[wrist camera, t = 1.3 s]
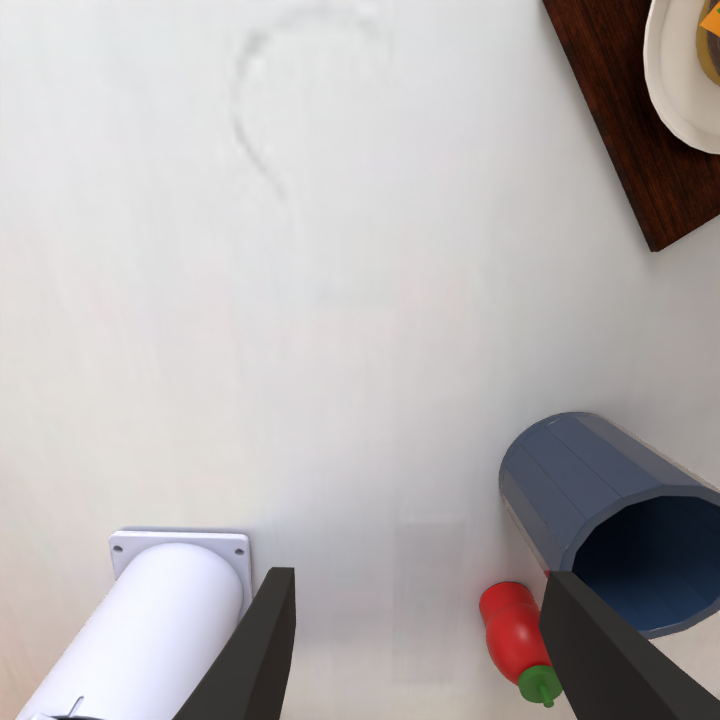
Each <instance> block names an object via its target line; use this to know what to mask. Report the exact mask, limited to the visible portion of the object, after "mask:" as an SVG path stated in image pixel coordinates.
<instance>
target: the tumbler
mask: <svg viewBox="0 0 720 720" xmlns="http://www.w3.org/2000/svg"><path fill="white" fill-rule="evenodd" d="M499 488H500V493H501V496H502V499H503V501H504V503H505V505H506V506H507V510H508V512H509V514H510V515H511V517H512V519H513V521H514V522H515V524H516V526H517V527H518V529H519V531H520V532H521V534H522V536H523V538H524V539H525V541H526V543H527V544H528V546H529V548H530V549H531V551H532V553H533V555H534V556H535V558H536V560H537V561H538V563H539V565H540V566H541V568H542V570H543V572H544V573H545V575H546V577H547V578H548V576H549V572H550V571H571V572H572V573H574V574H575V575H576V576H577V577H578V578H579V579H580V580H582V581H583V582H584V583H585V584H586V585H587V586H588V587H589V588H590V589H592V590H593V591H594V592H595V593H596V594H597V595H598V596H599V597H600V598H601V599H602V600H604V601H605V602H606V603H607V604H608V605H609V606H610V607H611V608H612V609H613V610H615V611H616V612H617V613H618V614H619V615H620V616H621V617H622V618H623V619H624V620H626V621H627V622H628V623H629V624H630V625H631V626H632V627H633V628H634V629H636V630H637V631H638V632H639V633H640V634H641V635H642V636H643V637H645V638H646V639H647V640H649V639H654V638H658V637H662V636H666V635H670V634H673V633H677V632H681V631H684V630H685V629H686V630H687V629H689V628H690V627H692V626H694V625H696V624H697V623H699V622H701V621H703V620H704V619H706V618H708V617H709V616H711V615H713V614H715V613H716V612H718V611H719V610H720V490H719V489H717V488H716V487H714V486H713V485H711V484H710V483H708V482H707V481H705V480H704V479H702V478H700V477H699V476H697V475H696V474H694V473H693V472H691V471H690V470H688V469H687V468H685V467H684V466H682V465H680V464H679V463H677V462H676V461H674V460H673V459H671V458H670V457H668V456H667V455H665V454H663V453H662V452H660V451H659V450H657V449H656V448H654V447H653V446H651V445H650V444H648V443H647V442H645V441H643V440H642V439H640V438H639V437H637V436H636V435H634V434H633V433H631V432H630V431H628V430H627V429H625V428H623V427H621V426H619V425H617V424H615V423H614V422H612V421H610V420H608V419H607V418H604V417H602V416H599V415H596V414H591V413H584V412H569V413H563V414H558V415H554V416H551V417H548V418H546V419H543V420H541V421H539V422H537V423H536V424H534V425H532V426H531V427H529V428H528V429H527V430H525V431H524V432H523V433H522V434H521V435H520V436H519V437H518V438H517V439H516V440H515V441H514V442H513V443H512V445H511V446H510V447H509V449H508V451H507V452H506V454H505V456H504V458H503V461H502V464H501V467H500V472H499Z"/></svg>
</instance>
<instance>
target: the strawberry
mask: <svg viewBox="0 0 720 720" xmlns="http://www.w3.org/2000/svg"><path fill="white" fill-rule="evenodd" d="M479 607H480V612H481V615H482V618H483V620H484V623H485V626H486V642H487V647H488V651H489V654H490V656H491V658H492V660H493V662H494V664H495V665H496V667H497V668H498V670H499V671H500V672H501V673H502V674H503V675H504V676H505V677H506V678H507V679H508V680H509V681H511V682H512V683H514V684H515V685H517V686H519V689H520V692H521V694H522V696H523V697H524V698H525V699H526V700H528V701H530V702H533V703H543V704H544V706H545V707H547V708H550V707H552V706H553V705H554V702H553V699H555V698H557V697H558V696H559V695H560V694H561V692H562V691H563V688H562V686H561V684H560V682H559V680H558V678H557V676H556V673H555V671H554V669H553V666H552V663H551V661H550V658H549V656H548V653H547V650H546V648H545V645H544V642H543V639H542V636H541V633H540V631H539V628H538V623H539V619H540V614H541V611H540V610H539V608H538V606H537V604H536V602H535V600H534V598H533V596H532V594H531V593H530V591H529V590H528V589H527V588H526V587H524V586H523V585H521V584H518V583H514V582H505V583H499V584H497V585H494V586H492V587H491V588H489V589H488V590H487V591H486V592H485V593H484V594H483V595H482V597H481V599H480V605H479Z"/></svg>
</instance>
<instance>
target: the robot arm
mask: <svg viewBox="0 0 720 720" xmlns="http://www.w3.org/2000/svg"><path fill="white" fill-rule="evenodd" d="M119 546H120V547H119ZM109 547H110V552H111V557H112V563H113V568H114V573H115V579H116V582H115V584H114V585H113V586H112V588H111V589H110V590H109V592H108V593H107V595H106V596H105V597H104V599H103V600H102V601H101V603H100V604H99V605H98V607H97V608H96V609H95V611H94V612H93V614H92V615H91V616H90V618H89V619H88V620H87V622H86V623H85V624H84V626H83V627H82V628H81V630H80V631H79V633H78V634H77V635H76V637H75V638H74V639H73V641H72V642H71V643H70V645H69V646H68V647H67V649H66V650H65V651H64V653H63V654H62V656H61V657H60V658H59V660H58V661H57V662H56V664H55V665H54V666H53V668H52V669H51V670H50V672H49V673H48V675H47V676H46V677H45V679H44V680H43V681H42V683H41V684H40V685H39V687H38V688H37V689H36V691H35V692H34V694H33V695H32V696H31V698H30V699H29V700H28V702H27V703H26V704H25V706H24V707H23V708H22V710H21V711H20V713H19V714H18V715H17V717H16V718H15V719H14V720H279V718H280V714H281V709H282V704H283V700H284V695H285V690H286V686H287V681H288V676H289V672H290V666H291V659H292V651H293V644H294V636H295V628H296V606H295V574H294V568H286V567H272V568H271V569H270V570H269V571H268V573H267V575H266V577H265V579H264V581H263V583H262V585H261V587H260V589H259V590H258V592H257V594H256V596H255V598H254V599H253V598H252V580H251V563H250V545H249V539H248V537H247V536H245V535H243V534H223V533H184V532H145V531H116V532H114V533H113V534H112V535H111V536H110V538H109ZM238 549H242V550H243V551H240V550H238ZM538 628H539V631H540V633H541V636H542V639H543V642H544V645H545V648H546V650H547V653H548V656H549V658H550V661H551V663H552V666H553V669H554V671H555V673H556V676H557V678H558V680H559V682H560V684H561V686H562V688H563V690H564V692H565V695H566V697H567V699H568V701H569V703H570V705H571V707H572V709H573V711H574V713H575V715H576V717H577V719H578V720H720V701H719V700H718V699H717V698H715V697H714V696H713V695H712V694H711V693H709V692H708V691H707V690H706V689H705V688H703V687H702V686H701V685H700V684H698V683H697V682H696V681H695V680H694V679H692V678H691V677H690V676H689V675H688V674H686V673H685V672H684V671H683V670H682V669H680V668H679V667H678V666H677V665H676V664H674V663H673V662H672V661H671V660H670V659H669V658H667V657H666V656H665V655H664V654H663V653H662V652H660V651H659V650H658V649H657V648H656V647H655V646H654V645H652V644H651V643H650V642H649V641H648V640H647V639H646V638H645V637H643V636H642V635H641V634H640V633H639V632H638V631H637V630H636V629H634V628H633V627H632V626H631V625H630V624H629V623H628V622H627V621H626V620H624V619H623V618H622V617H621V616H620V615H619V614H618V613H617V612H616V611H615V610H613V609H612V608H611V607H610V606H609V605H608V604H607V603H606V602H605V601H604V600H602V599H601V598H600V597H599V596H598V595H597V594H596V593H595V592H594V591H593V590H592V589H590V588H589V587H588V586H587V585H586V584H585V583H584V582H583V581H582V580H580V579H579V578H578V577H577V576H576V575H575V574H574V573H572V572H571V571H550V572H549V576H548V581H547V586H546V590H545V595H544V600H543V605H542V609H541V614H540V619H539V623H538Z"/></svg>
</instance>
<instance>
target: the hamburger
mask: <svg viewBox="0 0 720 720" xmlns="http://www.w3.org/2000/svg"><path fill="white" fill-rule="evenodd" d="M543 3H544V5H545V7H546V10H547V12H548V14H549V16H550V19H551V21H552V23H553V26H554V28H555V30H556V33H557V35H558V37H559V40H560V42H561V44H562V47H563V49H564V51H565V54H566V56H567V58H568V61H569V63H570V65H571V67H572V70H573V72H574V74H575V77H576V79H577V81H578V84H579V86H580V88H581V91H582V93H583V95H584V98H585V100H586V102H587V105H588V107H589V109H590V112H591V114H592V116H593V118H594V121H595V123H596V125H597V128H598V130H599V132H600V135H601V137H602V139H603V142H604V144H605V146H606V149H607V151H608V153H609V156H610V158H611V160H612V163H613V165H614V167H615V169H616V172H617V174H618V176H619V179H620V181H621V183H622V186H623V188H624V190H625V193H626V195H627V197H628V200H629V202H630V204H631V207H632V209H633V211H634V214H635V216H636V218H637V220H638V223H639V225H640V227H641V230H642V232H643V234H644V237H645V239H646V241H647V244H648V246H649V248H650V251H651V252H659V251H661V250H662V249H664V248H666V247H667V246H669V245H670V244H672V243H674V242H675V241H677V240H679V239H680V238H682V237H683V236H685V235H687V234H688V233H690V232H692V231H693V230H695V229H697V228H698V227H700V226H701V225H703V224H705V223H706V222H708V221H710V220H711V219H713V218H714V217H716V216H718V215H719V214H720V0H543Z"/></svg>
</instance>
